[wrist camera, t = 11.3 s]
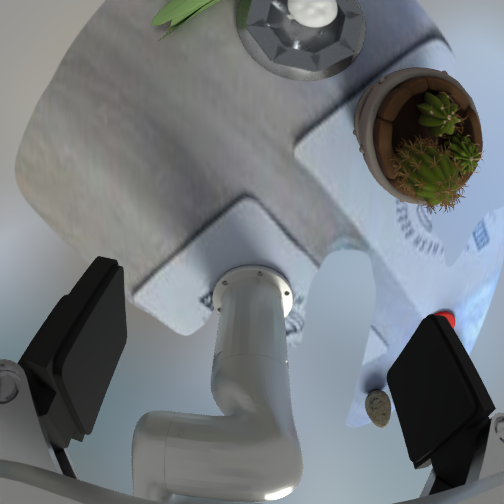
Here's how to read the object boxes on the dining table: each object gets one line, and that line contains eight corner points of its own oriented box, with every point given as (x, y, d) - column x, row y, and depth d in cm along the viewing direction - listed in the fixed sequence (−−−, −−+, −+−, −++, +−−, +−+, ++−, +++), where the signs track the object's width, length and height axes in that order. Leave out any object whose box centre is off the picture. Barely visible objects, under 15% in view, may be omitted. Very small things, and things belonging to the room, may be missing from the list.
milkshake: (268, 18, 28) (271, -2, 20) (305, -4, 26) (321, -28, 18) (291, 47, 30) (303, 37, 22) (329, 25, 28) (352, 10, 20)
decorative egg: (357, 396, 66) (364, 431, 58) (374, 382, 63) (383, 419, 55) (374, 399, 67) (382, 433, 59) (391, 387, 65) (401, 421, 56)
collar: (349, 94, 34) (358, 97, 30) (226, 67, 32) (222, 66, 29) (372, -9, 26) (383, -16, 22) (250, -40, 24) (250, -51, 21)
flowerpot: (400, 44, 29) (504, 40, 12) (455, 140, 35) (552, 197, 18) (313, 104, 35) (364, 136, 18) (379, 195, 40) (447, 285, 23)
